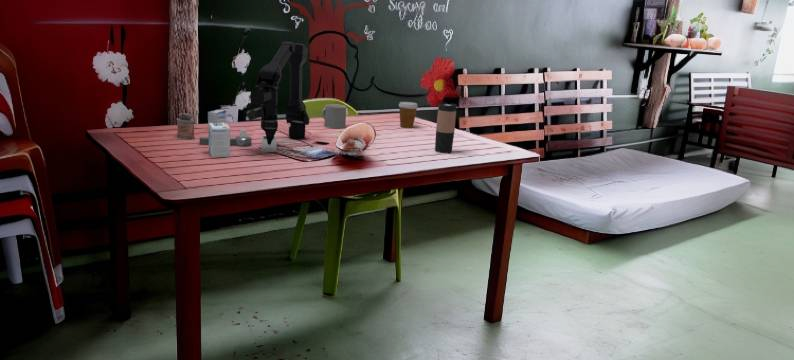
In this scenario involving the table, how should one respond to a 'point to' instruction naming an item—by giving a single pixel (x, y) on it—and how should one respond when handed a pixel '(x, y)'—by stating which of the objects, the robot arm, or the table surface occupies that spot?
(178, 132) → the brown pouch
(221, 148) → the light bulb box
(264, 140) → the socket
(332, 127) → the coffee mug
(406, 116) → the disposable coffee cup
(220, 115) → the medicine box
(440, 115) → the travel mug
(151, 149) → the table surface
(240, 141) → the ratchet
